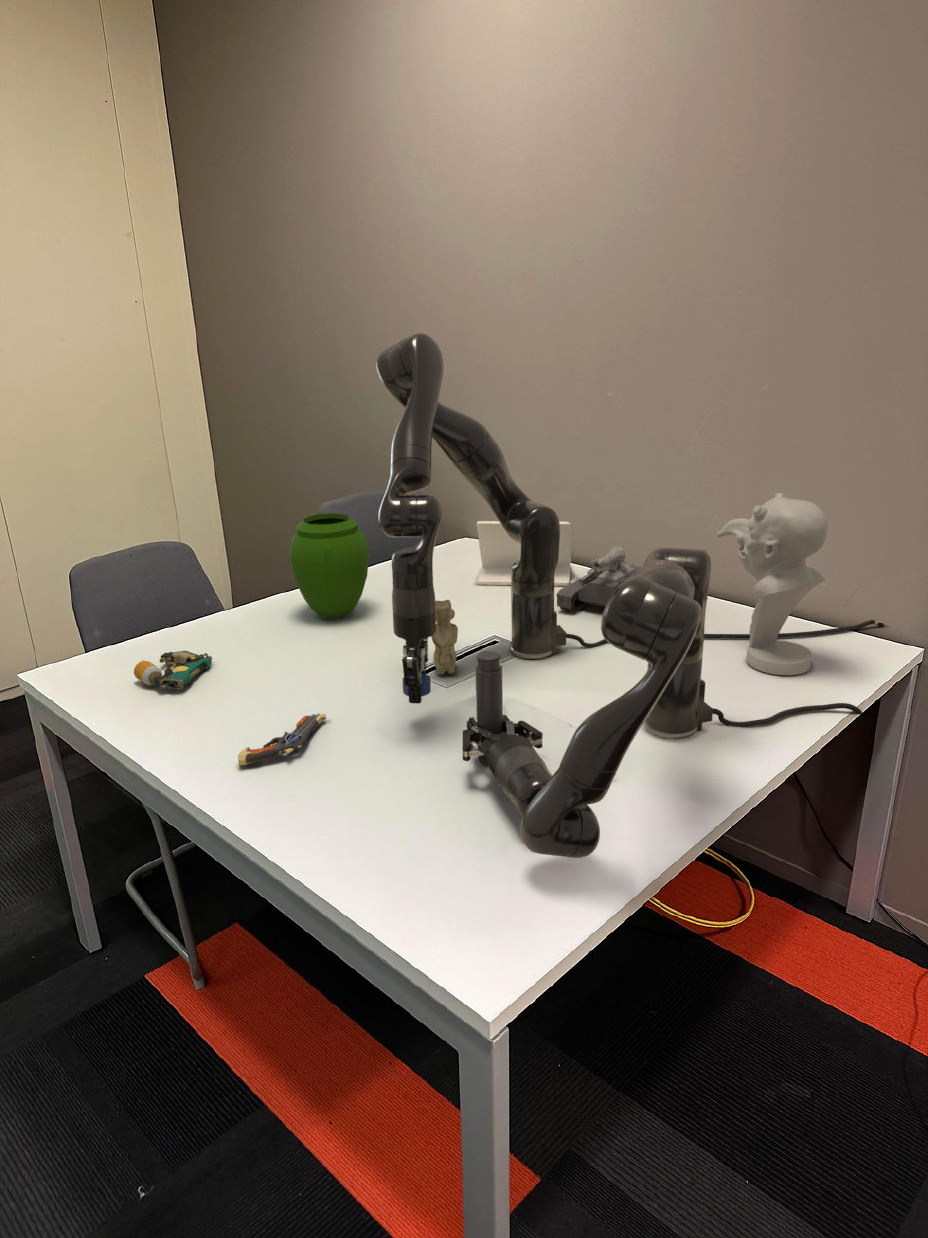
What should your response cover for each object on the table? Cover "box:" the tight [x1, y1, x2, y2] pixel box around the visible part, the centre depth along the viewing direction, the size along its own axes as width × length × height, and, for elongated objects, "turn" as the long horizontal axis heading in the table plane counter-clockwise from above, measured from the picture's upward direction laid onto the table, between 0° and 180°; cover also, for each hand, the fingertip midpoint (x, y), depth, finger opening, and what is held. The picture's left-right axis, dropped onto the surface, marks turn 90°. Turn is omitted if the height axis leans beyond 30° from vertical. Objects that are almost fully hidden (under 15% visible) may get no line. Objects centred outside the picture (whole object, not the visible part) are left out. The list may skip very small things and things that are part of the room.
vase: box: [288, 512, 370, 620], centre depth 209 cm, size 20×20×24 cm
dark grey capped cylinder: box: [475, 650, 504, 767], centre depth 141 cm, size 4×4×19 cm
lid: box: [401, 673, 432, 698], centre depth 155 cm, size 5×5×2 cm
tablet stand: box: [476, 520, 572, 587], centre depth 236 cm, size 18×25×17 cm
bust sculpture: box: [716, 492, 828, 676], centre depth 176 cm, size 16×24×35 cm
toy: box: [556, 546, 643, 613], centre depth 212 cm, size 25×20×15 cm
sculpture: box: [430, 599, 459, 675], centre depth 177 cm, size 6×7×15 cm
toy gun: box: [237, 713, 327, 766], centre depth 151 cm, size 3×19×10 cm
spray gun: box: [133, 650, 213, 690], centre depth 180 cm, size 4×17×15 cm
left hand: (417, 695), depth 155 cm, fingers closed on lid, 5 cm apart
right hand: (484, 720), depth 145 cm, fingers closed on dark grey capped cylinder, 4 cm apart
